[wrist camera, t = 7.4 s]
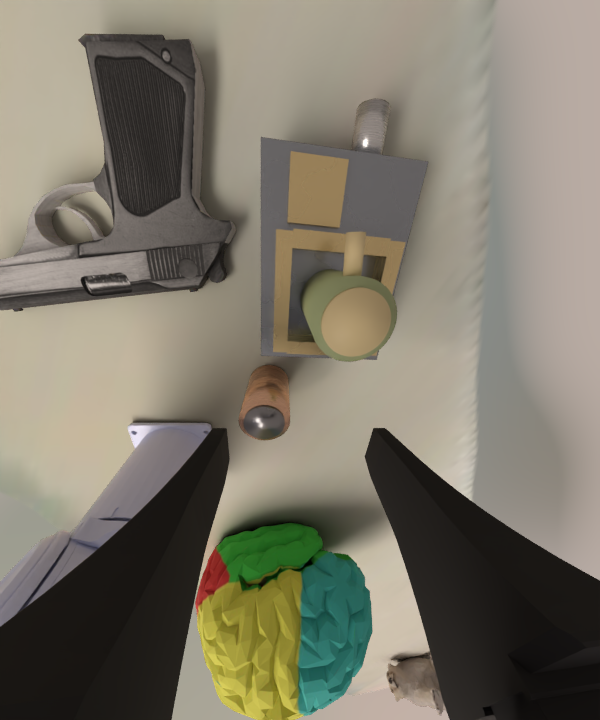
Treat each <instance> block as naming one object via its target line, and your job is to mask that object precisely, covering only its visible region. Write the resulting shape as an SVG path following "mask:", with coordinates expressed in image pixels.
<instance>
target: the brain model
mask: <svg viewBox="0 0 600 720" xmlns="http://www.w3.org/2000/svg"><path fill="white" fill-rule="evenodd" d="M322 548H323V542H322V539H321V537H320V536H319V535H318V532H317V530H316V529H314V528H312V527H308V526H305V525H302V524H296V523H285V524H279V525H274V526H266V527H260V528H258V529H256V530H254V531H244V532H241V533H239V534H237V535H232V536H229V537H226V538H224V540H223V541H222V542H221V543H220V544H219V545H218V546H216V547H215V549H214V551H213V553H212V554H211V556H210V558H209V560H208V563H207V566H206V569H205V571H204V573H203V576H202V579H201V582H200V586H199V589H198V594H197V598H196V602H195V604H196V609H197V619H198V620H197V623H198V625H197V628H198V631H199V634H200V638H201V644H202V648H203V652H204V658H205V662H206V665H207V667H208V668H209V669H210V671H211V673H212V678H213V682H214V685H215V688H216V692H217V694H218V696H219V698H220V700H221V701H222V703H223V704H225V705H226V706H227V707H229V708H230V709H232V710H233V711H235V712H238V713H240V714H243V715H246V716H248V717H251V718H253V719H257V720H295V719H298V718H300V717H302V716H307V715H311V714H312V713H314V712H315V711H317V710H318V709H323V708H325V707H326V706H327V705H329V704H331V703H332V702H334V701H335V700H337V699H338V698H340V697H341V696H343V695H344V694H345V692H346V690H347V689H348V687H349V685H350V683H351V681H352V677H355V675H356V674H357V673H358V671H359V670H360V669H361V667H362V665H363V661H364V658H365V654H366V650H367V646H368V642H369V640H370V637H371V634H372V614H371V601H370V591H369V590H368V589H367V588H366V587H365V577H364V575H363V573H362V571H361V570H360V568H358V567H357V564H356V563H355V562H354V561H353V560H352V559H351V558H350V557H349V556H348V555H346V554H339V553H332V552H328V551H324V550H322Z"/></svg>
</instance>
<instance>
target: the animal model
mask: <svg viewBox="0 0 600 720" xmlns="http://www.w3.org/2000/svg"><path fill="white" fill-rule="evenodd" d="M388 670H389V671H388V672H387V680H388V682H389V687H390V690H391V692H392V693H394V695H395V699H396V701H399V700H400V699H402V698H406V699H407V700H409V701H410V702H412V703H413V704H415V705H418V706H421V707H426V706H429V707H431V708H434V709H436V710H437V712H438V714H439V715H440V716H441V715H442V712H443V710H446V708H445V705H444V702H443V700H442V695H441V691H440V687H439V683H438V679H437V675H436V671H435V667H434V664H433V660H432V656H431V652H430V658H429V659H427V658H421V657H412V658H408V659H406V660H404V661H402V662H400V663H398V664H397V665H396V666H393V665H391V664H388Z"/></svg>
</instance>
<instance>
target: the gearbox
mask: <svg viewBox="0 0 600 720" xmlns="http://www.w3.org/2000/svg"><path fill="white" fill-rule="evenodd" d="M390 109H391V107H390V104H389V103H388V102H387V101H385V100H382V99H370V100H367V101H364V102H363V103H361V104H360V105H359V106H358V108H357V113H356V120H355V128H354V135H353V142H352V149H351V150H345V149H338V148H332V147H325V146H318V145H311V144H305V143H298V142H291V141H284V140H277V139H271V138H264V137H261V356H285V357H313V358H331V357H329V356H328V355H326V354H325V353H324V352H323V351H322V350H321V349H320V348H319V347H318V345H317V344H316V342H315V340H314V337H313V335H312V332H311V330H310V328H309V325H308V323H307V320H306V318H305V315H304V313H303V310H302V307H301V293H302V290H303V287H304V285H305V284H306V282H307V281H308V280H309V278H311V277H312V276H313V275H314V274H316V273H318V272H320V271H322V270H327V269H334V270H339V271H343V267H344V254H345V241H346V233H347V232H366V239H365V248H364V256H363V265H362V274H361V276H364V277H368V278H372V279H375V280H377V281H379V282H381V283H382V284H383V285H385V286H386V287H387V288H388V289H389V291H390V292H391V294H392V295H394V291H395V287H396V283H397V280H398V276H399V272H400V268H401V264H402V261H403V257H404V253H405V249H406V245H407V241H408V238H409V234H410V230H411V226H412V222H413V218H414V215H415V211H416V207H417V203H418V199H419V196H420V192H421V188H422V184H423V180H424V176H425V173H426V169H427V165H428V162H427V161H420V160H413V159H406V158H399V157H393V156H386V155H382V152H383V147H384V141H385V136H386V131H387V125H388V120H389V115H390ZM378 352H379V350H378V351H377V352H376V353H374V354H373V355H371V356H369V357H367V358H364V359H369V360H377V356H378Z"/></svg>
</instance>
